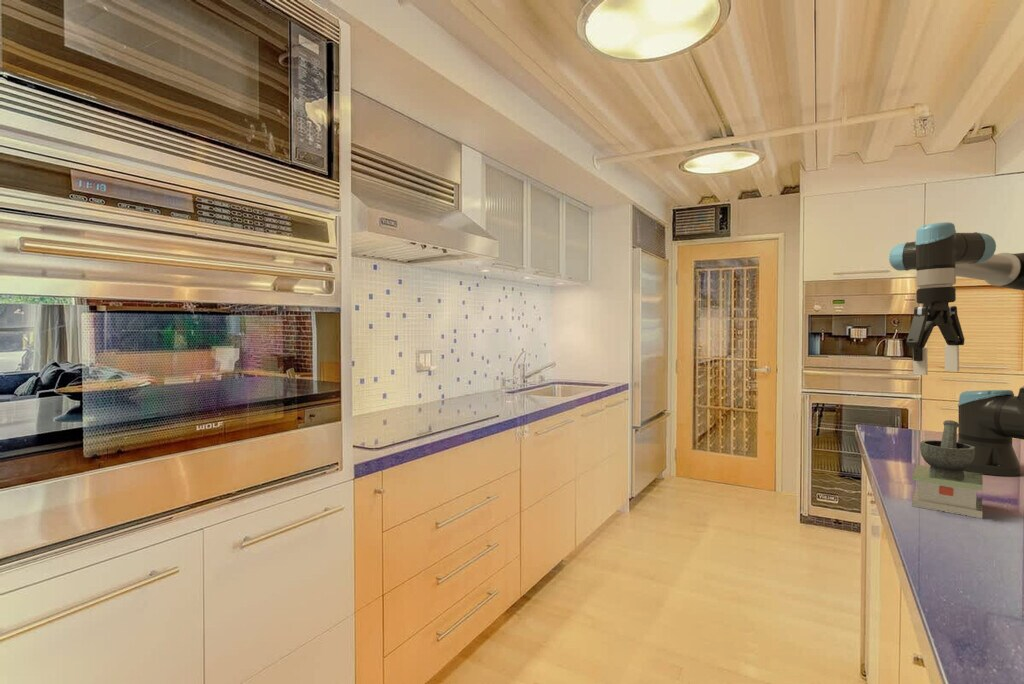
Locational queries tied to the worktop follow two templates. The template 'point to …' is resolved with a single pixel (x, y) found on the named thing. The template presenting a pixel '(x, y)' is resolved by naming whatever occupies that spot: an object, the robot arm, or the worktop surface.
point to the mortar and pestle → (947, 453)
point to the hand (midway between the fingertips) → (936, 373)
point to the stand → (948, 492)
